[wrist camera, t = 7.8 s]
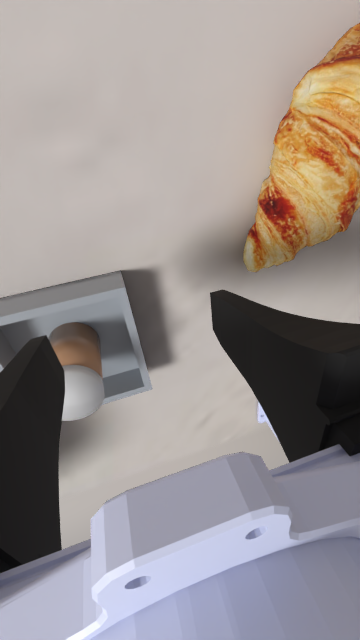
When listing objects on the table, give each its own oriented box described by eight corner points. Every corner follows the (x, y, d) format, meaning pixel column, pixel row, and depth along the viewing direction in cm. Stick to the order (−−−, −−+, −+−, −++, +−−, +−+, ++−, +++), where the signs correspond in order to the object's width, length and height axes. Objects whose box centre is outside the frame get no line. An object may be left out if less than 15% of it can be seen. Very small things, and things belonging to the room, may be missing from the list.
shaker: (106, 356, 24) (111, 410, 19) (57, 368, 23) (48, 427, 18) (93, 316, 22) (95, 366, 17) (38, 328, 21) (23, 384, 16)
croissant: (244, 263, 28) (312, 311, 24) (187, 233, 20) (275, 299, 16) (416, 17, 20) (554, 28, 16) (437, -191, 12) (720, -267, 8)
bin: (146, 366, 26) (152, 389, 24) (38, 398, 25) (32, 425, 22) (120, 270, 21) (125, 286, 18) (-22, 303, 19) (-38, 326, 17)
